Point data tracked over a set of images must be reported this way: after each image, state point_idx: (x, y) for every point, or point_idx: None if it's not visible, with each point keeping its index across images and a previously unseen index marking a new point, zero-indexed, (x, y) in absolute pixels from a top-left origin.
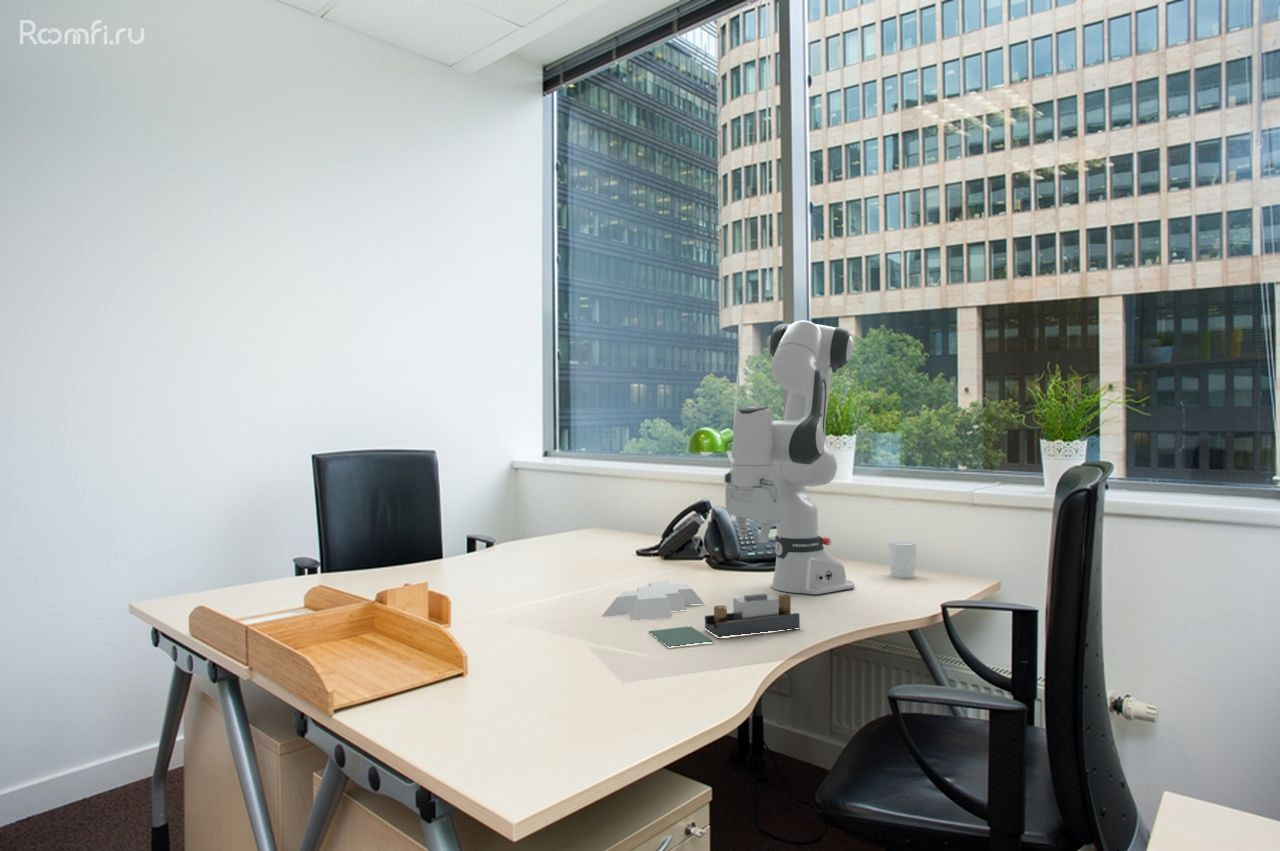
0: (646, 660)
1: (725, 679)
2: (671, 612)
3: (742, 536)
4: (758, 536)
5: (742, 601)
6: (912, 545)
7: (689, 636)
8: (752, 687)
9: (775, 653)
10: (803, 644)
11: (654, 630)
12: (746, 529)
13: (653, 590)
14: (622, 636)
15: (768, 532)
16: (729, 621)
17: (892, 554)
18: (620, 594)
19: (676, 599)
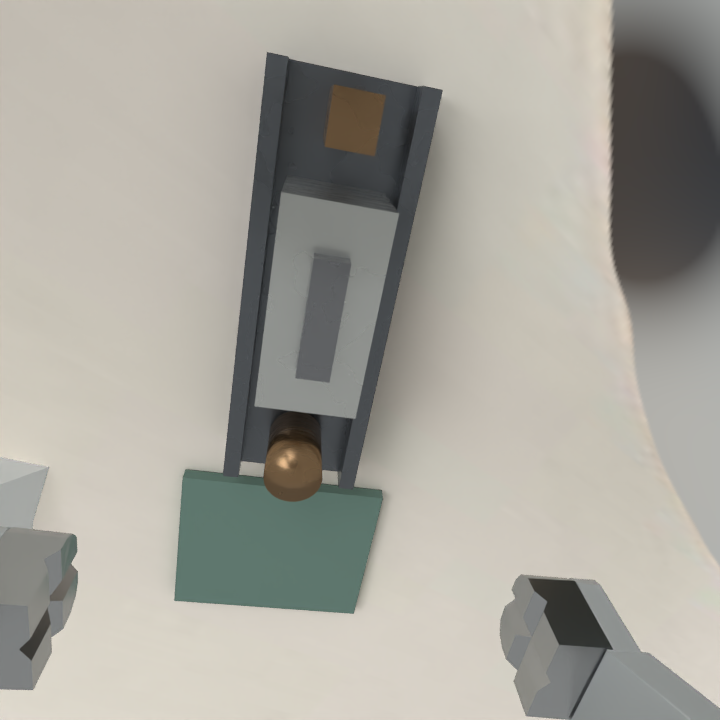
0: (395, 670)
1: (632, 595)
2: (5, 482)
3: (73, 589)
4: (527, 690)
5: (330, 402)
6: None
7: (300, 533)
8: (715, 576)
9: (584, 387)
10: (586, 238)
11: (176, 585)
12: (32, 622)
13: None
14: (156, 647)
15: (676, 690)
16: (353, 444)
17: None
18: None
19: None
